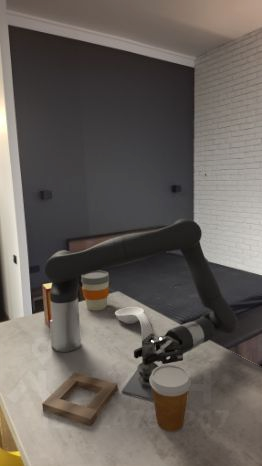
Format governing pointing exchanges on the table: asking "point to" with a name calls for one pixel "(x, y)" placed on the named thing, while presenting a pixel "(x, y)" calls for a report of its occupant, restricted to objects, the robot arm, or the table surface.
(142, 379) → the black chess piece
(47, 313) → the baking soda box
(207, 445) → the table surface
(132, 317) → the spoon rest
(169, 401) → the disposable coffee cup
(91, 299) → the reusable coffee cup
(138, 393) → the charcoal coaster
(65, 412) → the walnut holder
